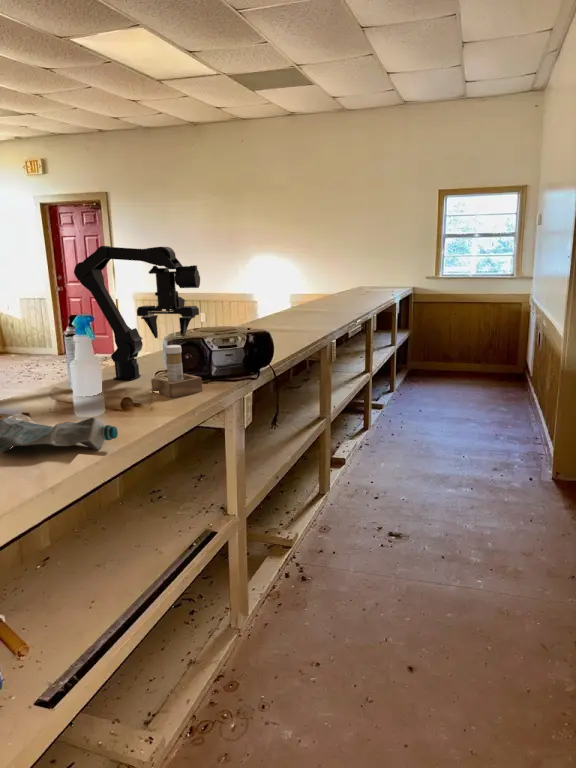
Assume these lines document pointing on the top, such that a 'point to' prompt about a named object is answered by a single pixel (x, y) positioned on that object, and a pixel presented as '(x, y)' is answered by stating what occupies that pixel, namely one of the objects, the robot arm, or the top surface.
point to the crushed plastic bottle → (55, 433)
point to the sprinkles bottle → (174, 363)
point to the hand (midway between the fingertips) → (169, 338)
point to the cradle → (178, 386)
